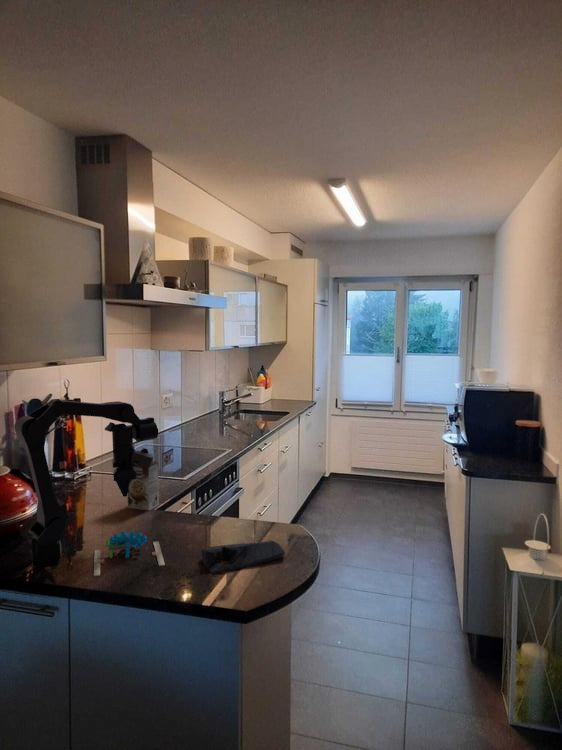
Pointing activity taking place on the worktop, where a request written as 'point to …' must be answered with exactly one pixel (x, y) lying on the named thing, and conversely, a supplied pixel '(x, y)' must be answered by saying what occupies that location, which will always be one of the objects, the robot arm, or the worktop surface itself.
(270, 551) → the dark grey stepped bar
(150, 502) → the coffee box
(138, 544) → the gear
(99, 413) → the robot arm
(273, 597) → the worktop surface
